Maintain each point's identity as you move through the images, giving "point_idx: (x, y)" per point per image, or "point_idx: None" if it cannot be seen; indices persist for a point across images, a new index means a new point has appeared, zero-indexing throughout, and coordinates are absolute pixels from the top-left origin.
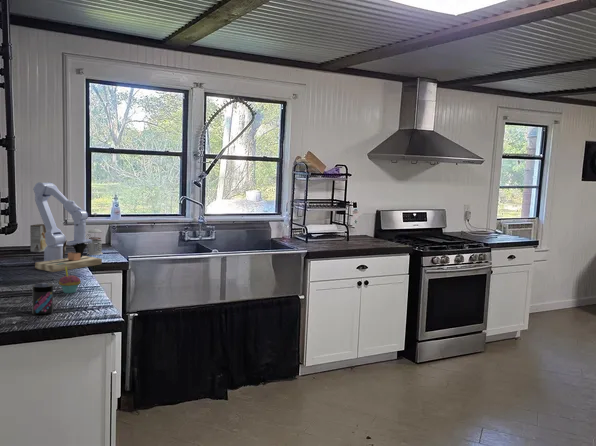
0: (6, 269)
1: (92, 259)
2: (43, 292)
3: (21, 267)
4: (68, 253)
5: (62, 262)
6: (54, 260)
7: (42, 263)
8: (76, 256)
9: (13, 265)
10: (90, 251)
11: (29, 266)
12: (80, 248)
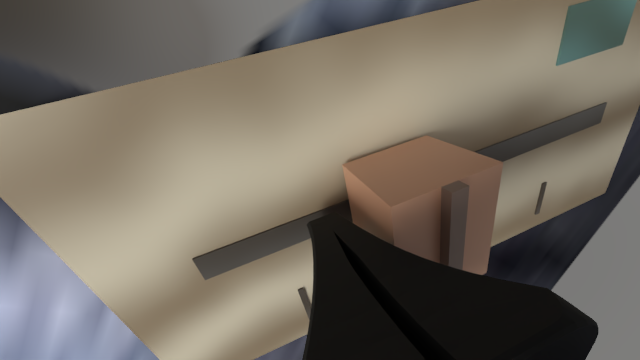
0: (616, 203)
1: (166, 140)
2: None
3: (562, 227)
4: (482, 257)
5: (532, 107)
6: (499, 228)
7: (618, 139)
8: (430, 159)
9: (542, 279)
10: None
11: (531, 240)
12: (449, 285)
